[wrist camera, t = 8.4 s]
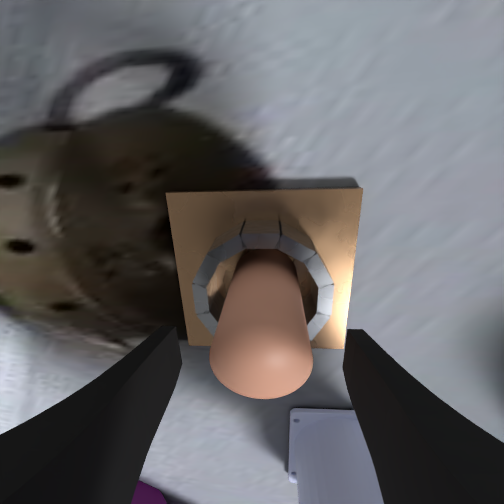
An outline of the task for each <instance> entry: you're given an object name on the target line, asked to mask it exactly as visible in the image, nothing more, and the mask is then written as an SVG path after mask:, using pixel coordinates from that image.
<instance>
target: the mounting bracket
mask: <svg viewBox="0 0 504 504" xmlns="http://www.w3.org/2000/svg"><path fill="white" fill-rule="evenodd" d="M131 504H167V503H166V501H165V499H164V497H163V495H162V493H161V492H160V491H159V490H158V489H156V488H154V487H152V486H150V485H148V484H145V483H143V482H141V481H139V480H138V483H137V486H136V489H135V492H134V496H133V499H132V502H131Z"/></svg>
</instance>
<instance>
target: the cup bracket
mask: <svg viewBox="0 0 504 504" xmlns="http://www.w3.org/2000/svg"><path fill="white" fill-rule="evenodd" d="M362 194H363V188H361V187H336V188H291V189H246V190H202V191H169V192H166V199H167V205H168V212H169V218H170V225H171V232H172V238H173V245H174V251H175V258H176V264H177V271H178V277H179V284H180V290H181V297H182V303H183V310H184V316H185V323H186V329H187V336H188V342H189V345H190V346H211V344H212V341H213V338H214V335H215V332H216V328H217V325H218V322H219V319H220V315H221V312H222V309H223V306H224V302H225V299H226V296H227V293H228V289H229V286H230V283H231V280H232V276H233V273H234V270H235V267H236V265H237V263H238V261H239V260H240V259H241V257H242V256H244V255H245V254H246V253H248V252H250V251H252V250H255V249H275V250H278V251H280V252H282V253H284V254H285V255H287V256H288V257H289V258H290V259H291V260H292V262H293V263H294V265H295V268H296V271H297V276H298V281H299V287H300V292H301V297H302V302H303V308H304V313H305V318H306V324H307V329H308V334H309V339H310V345H311V348H325V349H343V347H344V339H345V331H346V323H347V315H348V307H349V299H350V291H351V283H352V275H353V267H354V258H355V250H356V242H357V234H358V226H359V218H360V210H361V202H362Z"/></svg>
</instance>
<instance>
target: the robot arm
mask: <svg viewBox="0 0 504 504" xmlns="http://www.w3.org/2000/svg"><path fill="white" fill-rule="evenodd" d="M181 365H182V359H181V353H180V347H179V342H178V336H177V330H176V326H161V327H160V328H159V329H158V330H156V331H155V332H154V333H153V334H152V335H150V336H149V337H148V338H147V339H146V340H144V341H143V342H142V343H141V344H140V345H138V346H137V347H136V348H135V349H133V350H132V351H131V352H130V353H129V354H127V355H126V356H125V357H124V358H122V359H121V360H120V361H118V362H117V363H116V364H115V365H113V366H112V367H111V368H109V369H108V370H107V371H105V372H104V373H103V374H101V375H100V376H99V377H97V378H96V379H94V380H93V381H92V382H90V383H89V384H87V385H86V386H84V387H83V388H81V389H80V390H78V391H77V392H75V393H73V394H72V395H70V396H69V397H67V398H66V399H64V400H62V401H61V402H59V403H57V404H55V405H54V406H52V407H50V408H49V409H47V410H45V411H43V412H42V413H40V414H38V415H37V416H35V417H33V418H31V419H29V420H28V421H26V422H24V423H22V424H20V425H18V426H16V427H14V428H13V429H11V430H9V431H7V432H5V433H3V434H1V435H0V504H131V502H132V499H133V496H134V492H135V489H136V486H137V483H138V480H139V477H140V474H141V471H142V468H143V465H144V462H145V459H146V456H147V453H148V451H149V448H150V445H151V443H152V440H153V438H154V436H155V433H156V431H157V429H158V426H159V424H160V422H161V419H162V417H163V415H164V412H165V410H166V408H167V405H168V403H169V401H170V398H171V396H172V394H173V391H174V389H175V386H176V383H177V379H178V376H179V373H180V369H181ZM343 372H344V376H345V381H346V385H347V389H348V393H349V396H350V399H351V402H352V405H353V408H354V410H334V409H308V408H294V409H292V410H291V411H290V432H289V463H288V480H289V481H290V482H291V483H297V486H298V499H299V504H504V443H503V442H501V441H500V440H498V439H497V438H495V437H494V436H492V435H491V434H489V433H488V432H486V431H484V430H483V429H481V428H480V427H478V426H477V425H475V424H474V423H473V422H471V421H470V420H468V419H467V418H465V417H464V416H463V415H461V414H460V413H458V412H457V411H456V410H454V409H453V408H452V407H450V406H449V405H448V404H446V403H445V402H444V401H442V400H441V399H440V398H438V397H437V396H436V395H435V394H433V393H432V392H431V391H429V390H428V389H427V388H426V387H425V386H424V385H422V384H421V383H420V382H419V381H418V380H416V379H415V378H414V377H413V376H412V375H410V374H409V373H408V372H407V371H406V370H405V369H404V368H403V367H401V366H400V365H399V364H398V363H397V362H396V361H395V360H394V359H393V358H392V357H391V356H390V355H389V354H387V353H386V352H385V351H384V350H383V349H382V348H381V347H380V346H379V345H378V344H377V343H376V342H375V341H374V340H373V339H372V338H371V337H370V336H369V335H368V334H367V333H366V332H365V331H364V330H363V329H347V336H346V344H345V352H344V360H343Z"/></svg>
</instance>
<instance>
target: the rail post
mask: <svg viewBox="0 0 504 504" xmlns="http://www.w3.org/2000/svg"><path fill="white" fill-rule="evenodd" d="M209 360H210V365H211V368H212V371H213V372H214V374H215V376H216V377H217V379H218V380H219V381H220V382H221V383H222V384H223V385H224V386H226V387H227V388H229V389H230V390H232V391H234V392H235V393H238V394H240V395H243V396H246V397H250V398H256V399H272V398H278V397H282V396H285V395H288V394H290V393H292V392H294V391H296V390H297V389H298V388H300V387H301V386H302V385H303V384H304V383H305V382H306V380H307V379H308V377H309V376H310V374H311V371H312V367H313V356H312V350H311V345H310V339H309V334H308V329H307V324H306V318H305V313H304V308H303V302H302V297H301V292H300V287H299V281H298V276H297V271H296V268H295V265H294V263H293V262H292V260H291V259H290V258H289V257H288V256H287V255H285V254H284V253H282V252H280V251H278V250H275V249H255V250H252V251H250V252H248V253H246V254H245V255H244V256H242V257H241V259H240V260H239V261H238V263H237V265H236V267H235V270H234V273H233V276H232V280H231V283H230V286H229V289H228V293H227V296H226V299H225V302H224V306H223V309H222V312H221V315H220V319H219V322H218V325H217V328H216V332H215V335H214V338H213V341H212V344H211V348H210V353H209Z"/></svg>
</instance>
